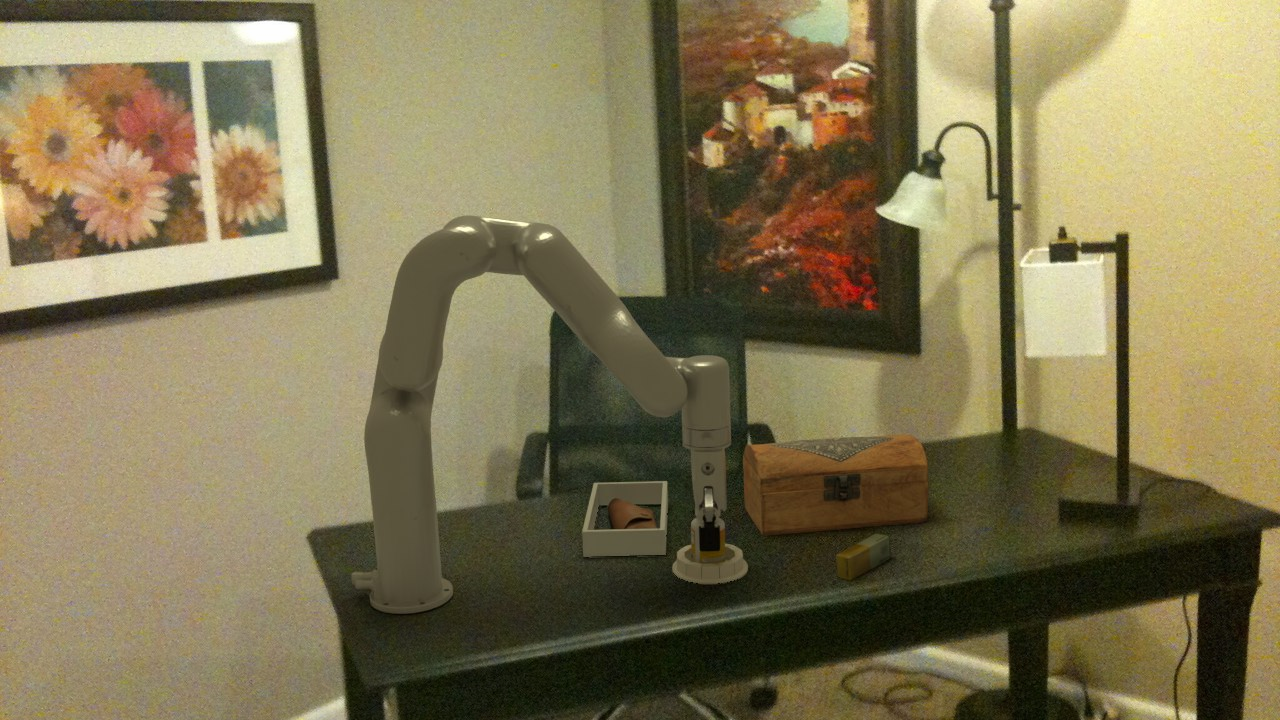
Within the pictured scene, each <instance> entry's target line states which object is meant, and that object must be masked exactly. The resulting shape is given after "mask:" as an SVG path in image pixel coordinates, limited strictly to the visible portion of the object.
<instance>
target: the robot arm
mask: <svg viewBox="0 0 1280 720" xmlns="http://www.w3.org/2000/svg"><path fill="white" fill-rule="evenodd" d="M485 273H491V274H492V273H493V274H499V275H500V274H503V275H511V276H524V278H525V279H526V280H527V281H528V283H530V285H531V286H532V287H533V288H534V289H535V291H536V292H537V293H538V294H539V295H540V296H541V297H542V299H544V300H545V302H546V303H547V304H548V305H549V306H550V307H551V308H552V309H553V310H554V311H555V313H556V314H557V315H558V316H559V317H560V318H561V320H563V322H564V323H565V324H566V326H568V328H569V329H570V330H571V331H572V332H573V333H574V334H575V335H576V336H577V338H578V339H579V340H580V341H581V342H582V344H584V345H585V347H586V348H588V350H589V351H590V352H592V353H593V354H594V355H595V357H597V358H598V359H599V361H601V362H602V363H603V365H604V366H605V367H606V368H607V370H609V371H610V373H611V374H612V375H613V376H614V377H615V378H616V380H617V381H618V382H619V383H620V384H621V386H622V387H624V388H625V390H626V391H627V392H628V393H629V394H630V395H631V397H633V399H634V400H635V401H636V402H637V403H638V404H639V406H640V407H641V408H642V409H643V410H644V411H645V412H646V413H648V414H650V415H651V416H654V417H656V418H657V417H658V418H668V417H671V416H674V415H676V414H678V413H679V412H680V411H681V427H682V429H681V430H682V432H681V434H682V446H683V447H684V448H685V449H687V450H690V465H691V484H692V493H693V498H694V504H695V507H696V510H697V511H699V510H700V511H699V512H700V526H699V548H700V551H702V552H704V551H719V550H720V525H719V526H718V509H719V510H720V511H721V510H722V512H725V511H726V510H727V509H728V508H727V502H728V501H727V466H726V465H727V463H726V451H725V450H726V449H727V448H728V447H730V446H731V445H732V433H731V425H732V424H731V391H730V388H731V387H730V386H731V385H730V366H729V362H728V361H727V360H726V359H725V358H724V357H721V356H718V355H713V354H712V355H709V354H708V355H707V354H705V355H692V356H690V357H673V356H672V357H671V356H665V355H664V354H663V353H662V351H660V350H659V348H658V347H657V346H656V345H655V344H654V342H653V341H652V340H651V339H650V338H649V337H648V336H647V334H646V333H645V332H644V331H643V329H642V327H640V325H639V324H638V322H636V320H635V319H634V317H633V315H632V314H631V312H630V311H629V310H628V308H627V307H626V305H625V304H624V303H623V301H622V300H621V299H620V297H619V296H618V295H617V294H616V293H615V292H614V291H613V290H612V288H611V287H610V286H609V285H608V284H607V283H606V282H605V281H604V279H603V278H602V277H601V275H599V273H598V272H597V271H596V270H595V269H594V268H593V266H592V265H591V264H590V263H589V262H588V261H587V260H586V258H585V257H584V256H583V255H582V254H581V253H580V252H579V250H578V249H577V248H576V247H575V246H574V244H573V243H572V242H571V241H570V240H569V239H568V238H567V237H566V236H565V235H564V233H562V231H561V230H560V229H559V228H557V227H555V226H553V225H551V224H547V223H543V222H542V223H541V222H531V221H520V220H512V219H503V218H495V217H494V218H493V217H487V216H480V215H479V216H478V215H461V216H457V217H454V218H453V219H451V220H450V221H448V222H447V223H446V224H445V225H444V226H443V228H442V229H439V230H437V231H435V232H432V233H431V234H428V235H426V236H425V237H423V238H422V239H421V240H420V241H419V242H417V243H416V244H414V246H413V247H412V248H410V250H409V252H408V253H407V254H406V256H405V257H404V259H403V260H402V262H401V263H400V267H399V268H398V271H397V273H396V278H395V281H394V286H393V290H392V291H393V292H392V295H391V296H392V297H391V300H390V304H389V309H388V313H387V314H388V315H387V320H386V327H385V330H384V333H383V336H382V338H381V342H380V345H379V349H378V358H377V364H376V370H375V376H374V382H373V388H372V395H371V400H370V406H369V410H368V412H367V417H366V420H365V425H364V432H363V433H364V434H363V435H364V436H363V437H364V439H363V440H364V442H363V443H364V451H365V458H366V465H367V471H368V481H369V491H370V500H371V501H370V502H371V504H370V505H371V508H372V509H371V511H372V512H371V513H372V519H373V521H372V522H373V523H372V524H373V534H374V542H375V543H374V544H375V554H376V555H375V556H376V566H377V569H372V571H371V572H369V571H367V572H365V571H354V572H353V571H352V573H351V584H352V585H355V590H365V589H370V591H371V592H369V602H370V605H371V606H372V607H373V608H374V609H375V610H377V611H379V612H383V613H387V614H395V615H396V614H397V615H405V614H406V615H407V614H408V615H409V614H416V613H422V612H426V611H430V610H433V609H436V608H438V607H440V606H442V605H444V604H446V603H448V601H449V600H450V599H452V596H453V595H454V590H453V589H454V587H453V584H452V582H451V581H449V580H448V579H446V578H444V577H443V576H442V575H443V574H442V573H443V572H442V564H441V563H442V562H441V549H440V537H439V536H440V535H439V534H440V533H439V523H438V521H439V520H438V510H437V508H438V507H437V499H436V487H435V475H434V474H435V473H434V465H433V452H432V450H433V449H432V429H431V428H432V421H431V420H432V413H433V406H434V401H435V400H434V399H435V395H436V389H437V383H438V379H439V372H440V370H441V368H442V364H443V359H444V339H445V334H446V326H447V322H448V317H449V313H450V309H451V303H452V299H453V297H454V296H453V295H455V294H454V293H455V292H456V290H457V289H458V287H459V286H461V284H462V283H464V282H465V281H468V280H472V279H474V278H475V279H476V278H477V277H480V276H482V275H484V274H485ZM713 505H715V507H713ZM702 506H705V507H702ZM695 507H694V508H695ZM703 513H705V514H704V515H703ZM713 513H714V514H713Z"/></svg>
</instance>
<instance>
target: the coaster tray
mask: <svg viewBox="0 0 1280 720" xmlns="http://www.w3.org/2000/svg"><path fill="white" fill-rule="evenodd" d="M743 555H744V553H743V550H742V549H741V548H739V547H738V546H735V545H734V544H731V543H730V544H729V543H725V562H722V563H717V564H701V563H696V562H691V544H688V545H685V546H683V547H682V548H680V549H679V550H677V551H676V560H675V561H674V562H673V564H672V567H671V568H672V574H673V573H674V574H675V575H676V576H677V577H678V578H677V577H676V576H675V575H674V574H673V575H674V576H675V577H676V578H677V579H679V578H680V579H679V580H681V579H683V580H685V581H684V582H686V581H688V582H687V583H690V582H693V583H692V584H696V583H698V584H697V585H721V583H722V584H728V583H731V582H730V581H732V582H735V581H737V579H738V580H740V579H742V578H744V577H745V575H746V576H747V573H748V572H749V569H748V568H749V565H748V563H747V561H746V560H745V559H744V556H743ZM683 580H682V581H683ZM734 580H735V581H734ZM727 582H728V583H727ZM718 583H720V584H718Z"/></svg>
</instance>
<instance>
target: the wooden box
mask: <svg viewBox="0 0 1280 720" xmlns="http://www.w3.org/2000/svg"><path fill="white" fill-rule="evenodd" d="M742 468H743V493H744V495H743V496H744V498H743V499H744V508H745V510H746V512H747V513H748V515H749V517H750V518H751V520H752V522H753V523H754V524H755V526H756V528H757V530H759V532H760V534H761V535H762V536H763V537H766V536H776V535H777V536H779V535H788V534H799V533H802V534H803V533H813V532H823V531H825V532H826V531H834V530H835V531H836V530H837V531H838V530H847V529H859V528H870V527H871V528H872V527H883V526H882V525H885V526H896V525H897V526H898V525H907V524H908V523H910V524H920V523H921V522H922V523H925V521H926V522H927V521H928V512H929V511H928V509H929V506H928V505H929V495H930V493H929V492H930V491H929V490H930V489H929V487H930V481H929V464H928V458H927V455H926V452H925V449H924V446H923V444H922V443H921V442H920V441H919V440H918V438H916V437H915V436H914V435H911V434H891V435H876V436H873V435H872V436H851V437H850V436H849V437H848V436H846V437H844V436H843V437H834V438H833V437H832V438H831V437H830V438H817V439H801V440H792V441H790V440H789V441H781V442H772V443H764V444H763V443H762V444H761V443H760V444H747V445H746V446H745V448H744V452H743V455H742ZM919 522H920V523H919ZM908 525H909V524H908Z"/></svg>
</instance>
